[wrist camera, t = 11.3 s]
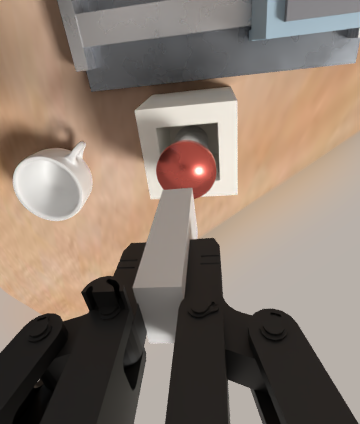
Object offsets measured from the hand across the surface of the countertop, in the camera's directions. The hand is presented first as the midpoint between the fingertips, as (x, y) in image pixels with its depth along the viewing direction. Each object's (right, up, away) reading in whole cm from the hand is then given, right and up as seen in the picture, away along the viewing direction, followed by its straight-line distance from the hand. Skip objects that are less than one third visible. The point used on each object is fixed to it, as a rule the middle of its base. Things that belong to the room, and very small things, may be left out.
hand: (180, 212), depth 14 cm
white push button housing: (+2, +9, +16) cm, 18 cm away
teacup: (-13, +6, +20) cm, 24 cm away
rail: (+3, +18, +10) cm, 21 cm away
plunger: (+1, +7, +12) cm, 14 cm away
